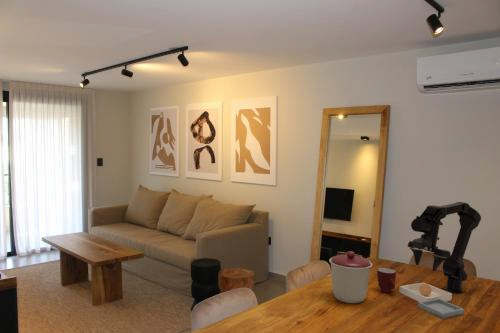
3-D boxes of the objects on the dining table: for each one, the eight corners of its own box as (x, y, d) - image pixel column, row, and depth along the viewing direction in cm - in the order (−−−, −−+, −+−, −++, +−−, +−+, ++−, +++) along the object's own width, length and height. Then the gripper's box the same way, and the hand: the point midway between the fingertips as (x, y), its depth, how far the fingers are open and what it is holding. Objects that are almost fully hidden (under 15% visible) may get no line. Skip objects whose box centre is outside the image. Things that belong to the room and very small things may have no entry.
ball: (424, 292, 178) (424, 281, 178) (433, 296, 174) (434, 285, 174) (416, 293, 176) (417, 283, 176) (425, 297, 172) (426, 286, 171)
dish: (423, 288, 185) (423, 282, 185) (451, 300, 171) (451, 293, 171) (399, 292, 179) (399, 286, 179) (426, 305, 165) (427, 298, 165)
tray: (438, 303, 167) (438, 298, 167) (463, 314, 156) (464, 309, 156) (418, 307, 162) (418, 302, 162) (442, 319, 151) (443, 313, 151)
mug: (402, 296, 175) (403, 274, 174) (387, 297, 172) (388, 275, 172) (387, 287, 185) (388, 267, 184) (372, 289, 182) (373, 268, 182)
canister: (377, 299, 170) (380, 251, 169) (358, 311, 156) (360, 259, 155) (341, 288, 182) (342, 244, 181) (319, 298, 169) (321, 250, 168)
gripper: (402, 227, 180) (396, 261, 179) (436, 236, 163) (430, 273, 162) (419, 230, 184) (413, 262, 184) (454, 238, 167) (448, 274, 167)
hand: (425, 268), depth 174 cm, fingers open, 9 cm apart
